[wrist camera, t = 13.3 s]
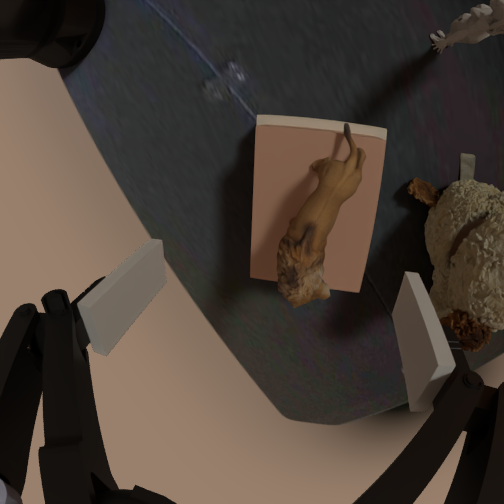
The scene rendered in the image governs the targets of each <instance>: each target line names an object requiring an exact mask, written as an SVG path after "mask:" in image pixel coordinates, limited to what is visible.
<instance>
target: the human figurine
mask: <svg viewBox="0 0 504 504" xmlns="http://www.w3.org/2000/svg"><path fill="white" fill-rule="evenodd" d="M490 7H491V8H490ZM490 7H489V6H487V5H485V4H480V5H477V6H476V8H475V7H474V8H471V13H470V14H466V13H464V14H463V15H461V16H459V18H458V19H455V20H454V21H453V22H452V23H451V28H450V33H449V34H446V36H445V35H444V34H443V32H442V31H439V30H438V31H437V33H438V34H439V36H440V37H441V38H439V37H437V36H435V35H434V34H433V33H432V34H430V37H431V39H432V40H433V41H434V42H435V44H432V46H433V45H436V47H435V48H433V49H436V48H439V49H438V51H437V52H439V50H440V49H441V52H440V54H441V53H442V51H443V49H444V48H445V47H446V46H451V47H452V46H453V44H454V42H461V43H470V44H475V43H478V42H480V41H481V40H482V39H484V38H486V37H488V36H489V35H496V34H500V33H501V34H504V0H491V1H490ZM438 39H439V40H438Z"/></svg>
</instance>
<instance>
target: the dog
mask: <svg viewBox="0 0 504 504" xmlns="http://www.w3.org/2000/svg"><path fill="white" fill-rule="evenodd" d="M460 157H461V169H460V180H459V181H456V182H453V183H452V184H451V185H450V186H449V187H447V189H446V190H443V195H441V196H439V194H440V192H438V190H435V187H432V184H430V183H428V182H425V181H422V180H420V179H419V178H417V177H415V178H414V179H413V180H412V182H410V184H409V185H410V186H408V188H407V189H408V193H409V194H414V197H415V198H416V199H418V200H420V201H421V202H423V203H425V205H428V206H429V207H430V208H431V209H430V210H429V212H428V214H429V215H428V218H427V220H426V223H425V225H424V226H425V233H424V234H425V237H426V239H425V242H426V245H427V251H428V253H429V255H430V259H431V264H432V265H434V268H435V270H434V271H433V276H432V280H434V281H433V286H432V287H431V290H430V293H429V298H430V300H431V302H432V305H433V307H434V309H435V312H436V314H437V317H438V319H440V318H441V320H439V321H440V324H441V325H445V326H450V327H451V329H452V330H453V331H454V332H455V333H456V335H457V338H458V340H459V343H460V345H461V347H462V348H461V349H462V350H465V351H468V350H469V349H471V351H472V352H476V351H477V352H478V350H480V349H481V348H482V347H483V346H484V345H483V343H484V342H485V343H486V344H489V342H488V340H489V341H490V340H491V338H490V337H491V331H492V332H497V330H498V329H499V330H503V329H504V191H502V192H500V191H499V190H498V189H497V188H494V186H492V184H491V185H487V184H486V183H479V182H476V181H475V180H473V176H474V168H475V155H473V154H464V153H461V155H460Z"/></svg>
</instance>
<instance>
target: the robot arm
mask: <svg viewBox="0 0 504 504" xmlns="http://www.w3.org/2000/svg"><path fill="white" fill-rule="evenodd" d="M104 17H105V4H104V0H0V59H14V58H30V59H32V60H34V61H36V62H39V63H41V64H43V65H45V66H47V67H51V68H67V67H70V66H72V65H74V64H76V63H77V62H79V61H80V60H81V59H82V58H83V57H84V56H85V55H86V54H87V53H88V52H89V51H90V49H91V48H92V47H93V45H94V44H95V42H96V40H97V38H98V36H99V34H100V32H101V29H102V26H103V22H104ZM166 283H167V280H166V271H165V264H164V254H163V244H162V240H157V239H149V240H148V241H147V242H146V243H145V244H143V245H142V246H141V247H140V248H139V249H138V250H136V251H135V252H134V253H133V254H132V255H131V256H130V257H128V258H127V259H126V260H125V261H124V262H123V263H121V264H120V265H119V266H118V267H117V268H116V269H115V270H114V271H112V272H111V273H110V274H109V275H108V276H107V277H105V276H104V277H102V278H100V279H98V280H96V281H95V282H94V283H93V284H91V286H90V287H88V288H87V289H86V290H85V292H82V294H80V295H79V296H78V297H77V298H76V299H75V300H74V301H73V302H72V303H70V301H69V298H68V295H67V292H66V291H65V290H62V289H57V290H52V291H50V292H48V293H46V294H45V295H44V296H43V297H42V299H41V301H42V304H43V307H44V310H45V312H46V313H38V311H37V308H36V306H35V305H34V304H31V303H28V304H23V305H21V306H20V307H19V308H17V309H16V310H15V311H14V313H13V315H12V317H11V319H10V321H9V323H8V325H7V327H6V328H5V330H4V332H3V335H2V336H1V338H0V504H23V503H22V499H21V495H22V491H23V488H24V484H25V479H26V473H27V466H28V459H29V452H30V446H31V441H32V435H33V430H34V425H35V420H36V416H37V411H38V407H39V403H40V398H41V394H42V391H43V422H44V437H45V445H44V446H43V447H40V448H39V453H38V454H39V455H38V456H39V466H40V474H41V480H42V488H43V493H44V499H45V504H176V503H175V502H173V501H171V500H170V499H168V498H167V497H165V496H163V495H160V494H157V493H155V492H152V491H149V490H146V489H144V488H142V487H139V486H137V485H135V486H134V488H133V490H126V489H119V488H118V486H117V484H116V482H115V480H114V478H113V476H112V474H111V471H110V467H109V464H108V460H107V456H106V452H105V448H104V445H103V440H102V435H101V431H100V426H99V422H98V416H97V411H96V405H95V399H94V393H93V387H92V380H91V374H90V365H89V356H88V351H87V349H86V347H87V346H88V344H89V343H91V345H92V348H93V350H94V352H96V353H99V354H102V355H104V356H107V355H108V354H109V353H110V351H111V350H112V349H113V347H114V346H115V345H116V344H117V342H118V341H119V340H120V339H121V337H122V336H123V335H124V334H125V332H126V331H127V330H128V329H129V327H130V326H131V325H132V324H133V322H134V321H135V320H136V319H137V318H138V316H139V315H140V314H141V313H142V311H143V310H144V309H145V308H146V307H147V305H148V304H149V303H150V302H151V301H152V299H153V298H154V297H155V296H156V294H157V293H158V292H159V291H160V290H161V288H162V287H163V286H164V285H165V284H166ZM392 318H393V322H394V326H395V330H396V335H397V340H398V344H399V349H400V354H401V359H402V364H403V370H404V375H405V381H406V387H407V393H408V399H409V406H410V411H427V410H428V408H429V406H430V405H431V404H432V402H433V407H434V411H433V413H432V414H431V415H430V417H429V418H428V419H427V421H426V422H425V423H424V424H423V426H422V427H421V429H420V430H419V431H418V433H417V434H416V435H415V436H414V438H413V439H412V441H411V442H410V443H409V444H408V445H407V446H406V448H405V449H404V450H403V451H402V453H401V454H400V455H399V456H398V457H397V458H396V460H395V461H394V462H393V463H392V464H391V465H390V466H389V467H388V468H387V470H386V471H385V472H384V473H383V474H382V475H381V476H380V477H379V478H378V479H377V480H376V481H375V482H374V483H373V484H372V485H371V486H370V487H369V488H368V489H367V490H366V491H365V492H364V493H363V494H362V495H361V496H360V497H359V498H358V499H357V500H356V501H355V502H354V503H353V504H413V503H414V502H415V500H416V499H417V498H418V496H419V495H420V494H421V493H422V491H423V490H424V488H425V487H426V486H427V485H428V483H429V482H430V481H431V479H432V478H433V476H434V475H435V474H436V472H437V471H438V469H439V468H440V466H441V465H442V463H443V462H444V460H445V458H446V457H447V456H448V454H449V452H450V451H451V449H452V448H453V446H454V444H455V443H456V441H457V439H458V438H459V436H460V434H461V433H462V431H466V432H467V435H466V439H465V442H464V446H463V450H462V453H461V457H460V460H459V463H458V466H457V469H456V473H455V475H454V478H453V481H452V484H451V487H450V490H449V492H448V495H447V497H446V500H445V502H444V504H504V382H503V383H502V384H501V385H500V386H499V387H498V389H497V388H493V387H490V386H486V385H484V382H483V380H482V378H481V377H480V376H479V375H478V374H477V373H476V372H473V371H471V370H470V368H469V366H468V363H467V360H466V358H465V355H464V352H463V350H462V349H461V348H462V347H461V345H460V343H459V340H458V338H457V335H456V333H455V332H454V331H453V330H452V329H451V327H450V326H445V325H441V324H440V321H439V319H438V317H437V314H436V312H435V309H434V307H433V305H432V302H431V300H430V298H429V295H428V293H427V291H426V289H425V287H424V284H423V282H422V280H421V278H420V276H419V274H418V273H414V272H406V271H405V274H404V277H403V281H402V284H401V287H400V291H399V294H398V297H397V300H396V303H395V306H394V309H393V312H392Z"/></svg>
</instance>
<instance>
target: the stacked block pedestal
mask: <svg viewBox="0 0 504 504" xmlns="http://www.w3.org/2000/svg"><path fill="white" fill-rule="evenodd" d="M344 123H348V122H341V121H333V120H324V119H315V118H305V117H293V116H279V115H257V126H256V134H255V160H254V186H253V211H252V237H251V264H250V278H257V279H264V280H270V281H278V276H277V274H278V272H277V269H276V268H277V253H278V246H279V242H280V240H281V239H282V237H283V236H284V235H286V232H287V228H288V227H289V226H290V224H289V221H290V219H292V218H294V217H296V216H297V214H298V212H299V211H300V209H301V207H302V206H303V205H304V203H305V201H306V200H307V198H308V197H309V196H310V195H311V194H312V193H313V192H314V191H315V190H316V188H317V187H318V183H319V179H318V173H317V172H315V171H313V170H312V163H313V162H314V161H316V160H318V159H323V158H326V157H331V159H332V160H340V161H343V162H344V161H346V160H348V158H349V156H350V147H349V144H348V142H347V140H346V137H345V136H344ZM348 124H349V126H350V130H351V133H350V134H351V137H352V139H353V141H354V143H355V145H356V147H357V148H362V149H363V150H364V151H365V154H366V159H365V161H364V164H363V167H362V180H361V183H360V184H359V186H358V188H357V190H356V192H355V193H354V195H353V196H351V197H350V198H349V199H347V200H346V201H345V202H344V203H343V204H342V205H341V207H340V210H339V213H338V216H337V219H336V221H335V224H334V226H333V228H332V230H331V231H330V233H329V234H328V236H327V245H326V247H325V259H324V262H323V266H324V269H325V271H324V274H323V276H322V280H323V281H324V282H325V283H326V284H327V285H328V286H329V289H335V290H343V291H350V292H358V293H359V291H360V287H361V283H362V279H363V274H364V270H365V266H366V261H367V256H368V252H369V247H370V242H371V237H372V232H373V226H374V221H375V215H376V210H377V204H378V198H379V191H380V185H381V178H382V170H383V163H384V155H385V146H386V135H387V129H384V128H380V127H375V126H368V125H362V124H355V123H348Z"/></svg>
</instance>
